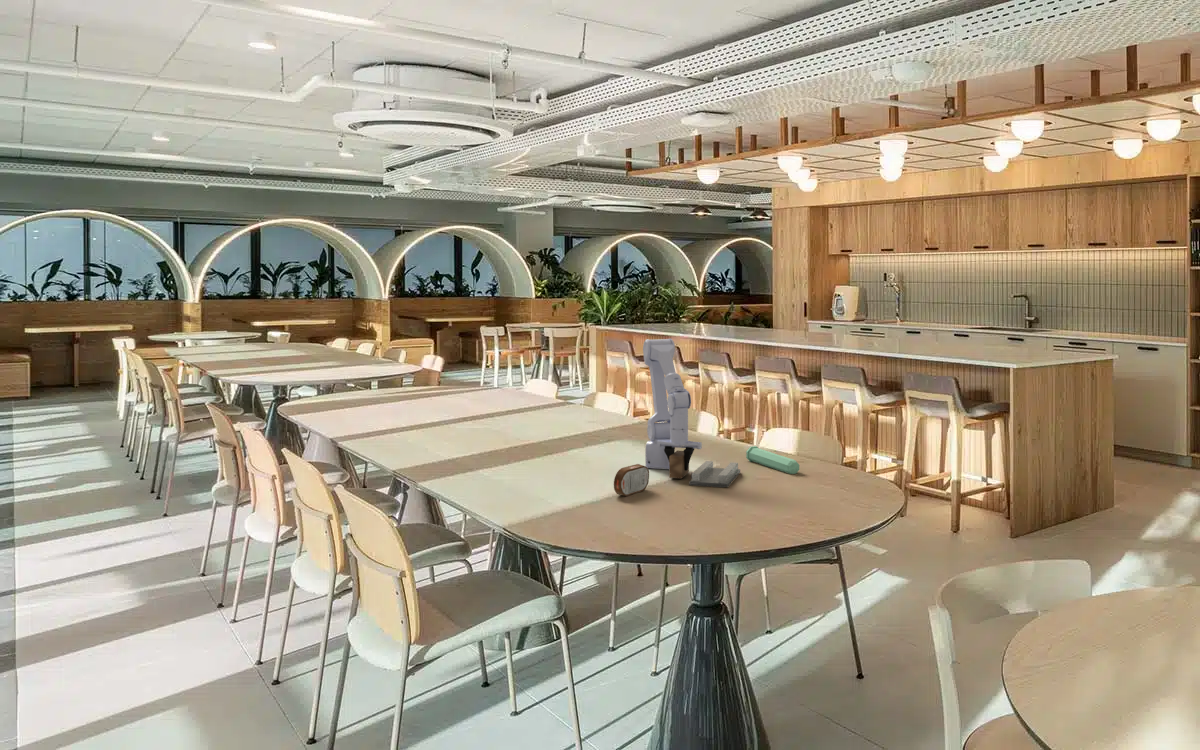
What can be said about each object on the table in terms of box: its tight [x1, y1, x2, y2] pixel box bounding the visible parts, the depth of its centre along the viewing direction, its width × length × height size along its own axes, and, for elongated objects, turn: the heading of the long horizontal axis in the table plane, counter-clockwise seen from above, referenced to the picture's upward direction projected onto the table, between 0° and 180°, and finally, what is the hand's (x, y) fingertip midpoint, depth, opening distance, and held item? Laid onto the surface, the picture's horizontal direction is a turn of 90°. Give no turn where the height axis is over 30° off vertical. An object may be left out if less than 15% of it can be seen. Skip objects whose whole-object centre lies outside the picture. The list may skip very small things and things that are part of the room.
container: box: [745, 445, 800, 475], centre depth 305 cm, size 6×6×25 cm
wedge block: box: [668, 450, 690, 480], centre depth 292 cm, size 4×10×7 cm, turn 161°
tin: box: [613, 463, 650, 497], centre depth 270 cm, size 15×3×8 cm, turn 141°
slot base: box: [688, 460, 741, 488], centre depth 288 cm, size 12×22×4 cm, turn 161°
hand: (679, 469), depth 292 cm, fingers closed on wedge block, 4 cm apart
